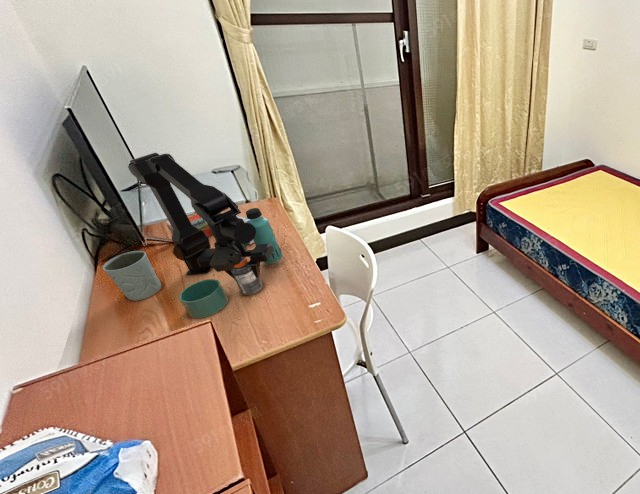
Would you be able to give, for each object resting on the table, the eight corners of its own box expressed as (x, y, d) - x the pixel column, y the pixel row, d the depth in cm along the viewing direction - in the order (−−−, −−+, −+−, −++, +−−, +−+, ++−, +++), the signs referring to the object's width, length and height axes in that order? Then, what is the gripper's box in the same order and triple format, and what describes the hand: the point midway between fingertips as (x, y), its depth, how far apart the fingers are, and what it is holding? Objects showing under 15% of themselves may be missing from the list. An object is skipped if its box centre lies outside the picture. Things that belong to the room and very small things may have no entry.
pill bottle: (247, 283, 125) (232, 254, 119) (266, 282, 125) (253, 253, 119) (238, 296, 120) (222, 266, 114) (258, 295, 120) (244, 265, 114)
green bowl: (181, 319, 113) (171, 303, 109) (200, 296, 121) (191, 280, 118) (218, 316, 113) (209, 300, 110) (234, 293, 122) (226, 277, 118)
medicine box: (218, 222, 159) (209, 205, 155) (227, 228, 155) (218, 210, 150) (175, 240, 149) (164, 221, 145) (182, 247, 145) (172, 228, 140)
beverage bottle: (276, 268, 131) (254, 216, 121) (259, 266, 133) (235, 214, 122) (289, 257, 137) (268, 205, 126) (272, 255, 138) (250, 204, 127)
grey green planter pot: (132, 306, 118) (109, 274, 112) (118, 295, 123) (96, 264, 116) (170, 287, 125) (151, 256, 119) (156, 277, 130) (137, 246, 124)
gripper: (174, 253, 105) (200, 298, 113) (248, 247, 106) (268, 292, 114) (197, 231, 114) (220, 274, 122) (265, 225, 115) (282, 268, 124)
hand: (247, 277), depth 120 cm, fingers closed on pill bottle, 6 cm apart
